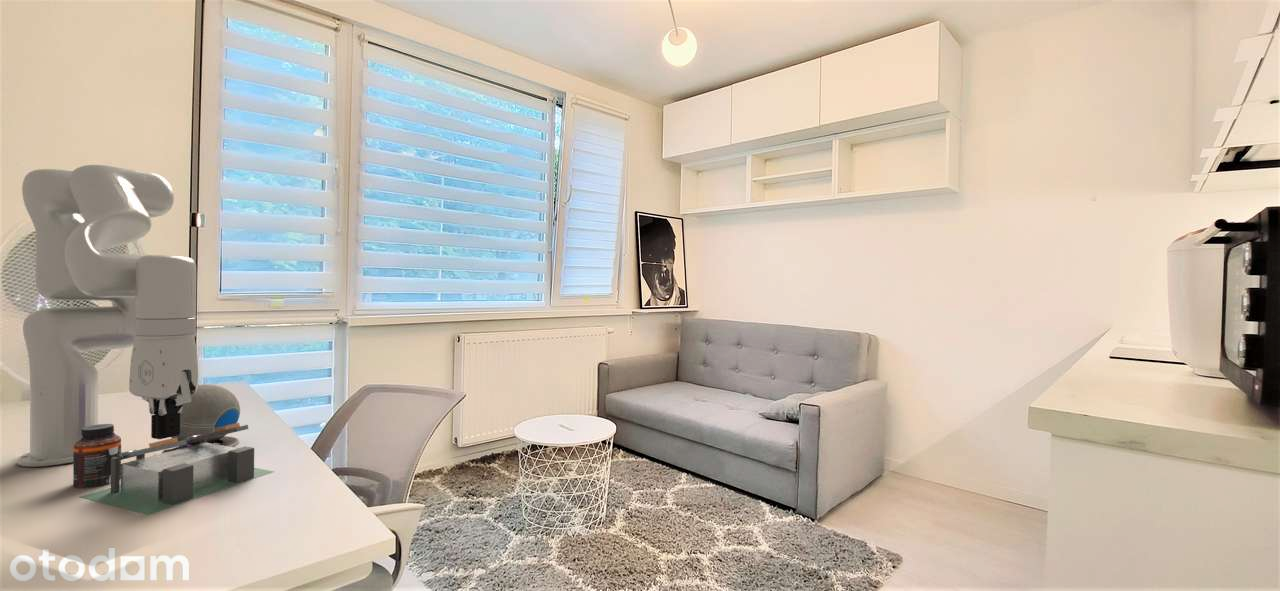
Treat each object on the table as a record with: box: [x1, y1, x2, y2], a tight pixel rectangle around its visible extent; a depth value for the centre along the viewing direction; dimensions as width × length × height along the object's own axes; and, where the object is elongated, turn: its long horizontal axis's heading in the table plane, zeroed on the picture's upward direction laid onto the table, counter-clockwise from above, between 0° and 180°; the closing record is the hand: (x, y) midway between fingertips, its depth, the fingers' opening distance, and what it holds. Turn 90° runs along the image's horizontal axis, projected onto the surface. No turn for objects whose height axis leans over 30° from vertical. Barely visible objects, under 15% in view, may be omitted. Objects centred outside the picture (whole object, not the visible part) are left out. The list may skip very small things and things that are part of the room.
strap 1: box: [118, 437, 187, 461], centre depth 87 cm, size 15×2×2 cm, turn 72°
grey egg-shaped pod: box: [161, 384, 241, 454], centre depth 112 cm, size 13×13×15 cm
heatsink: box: [120, 442, 239, 502], centre depth 92 cm, size 10×13×5 cm
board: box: [79, 438, 275, 515], centre depth 92 cm, size 18×20×7 cm
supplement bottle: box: [72, 423, 122, 489], centre depth 92 cm, size 6×6×11 cm
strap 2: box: [185, 422, 249, 444], centre depth 97 cm, size 15×2×2 cm, turn 72°
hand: (165, 436), depth 86 cm, fingers closed
